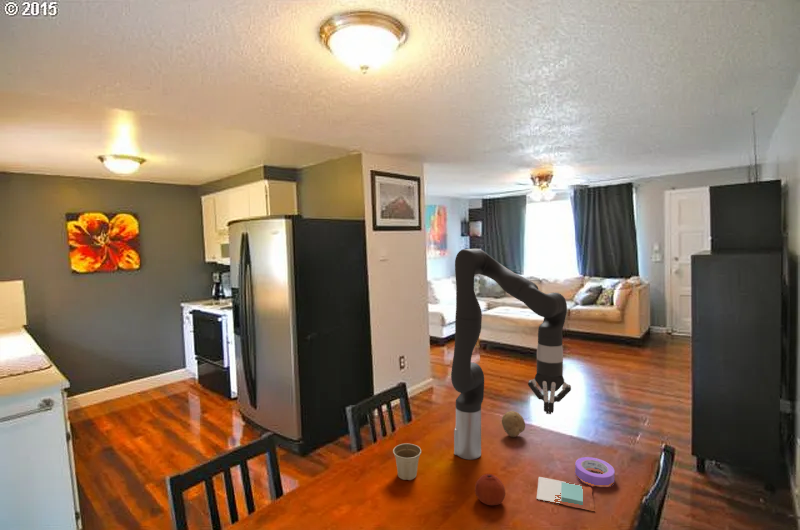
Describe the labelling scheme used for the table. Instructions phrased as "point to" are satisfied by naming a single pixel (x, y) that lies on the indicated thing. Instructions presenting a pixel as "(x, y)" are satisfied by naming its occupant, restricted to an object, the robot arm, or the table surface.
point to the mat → (548, 489)
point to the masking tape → (592, 477)
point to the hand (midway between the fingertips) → (548, 413)
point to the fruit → (490, 490)
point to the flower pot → (407, 460)
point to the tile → (571, 493)
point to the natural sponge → (513, 423)
